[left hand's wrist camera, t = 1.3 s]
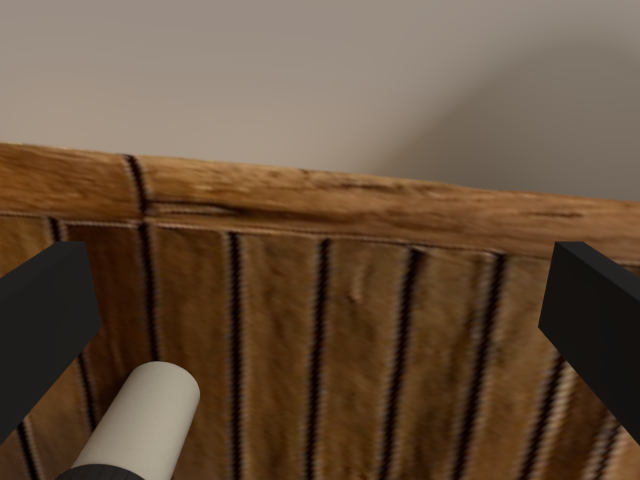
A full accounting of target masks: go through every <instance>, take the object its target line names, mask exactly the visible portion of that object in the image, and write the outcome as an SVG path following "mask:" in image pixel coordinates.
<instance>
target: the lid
mask: <svg viewBox="0 0 640 480" xmlns="http://www.w3.org/2000/svg"><path fill="white" fill-rule="evenodd" d="M55 480H145V479H144V478H142V477H141V476H139V475H137V474H136V473H134V472H132V471H129V470H127V469H124V468H121V467H117V466H113V465H107V464H86V465H80V466H77V467H74V468H71V469H69V470H67V471H65V472H64V473H62V474H60V475H59V476H58V477H57V478H56V479H55Z"/></svg>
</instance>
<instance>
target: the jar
mask: <svg viewBox="0 0 640 480" xmlns="http://www.w3.org/2000/svg"><path fill="white" fill-rule="evenodd" d="M199 401H200V391H199V387H198V384H197V382H196V381H195V379H194V378H193V377H192V376H191V375H190V374H189V373H188V372H187V371H186V370H184V369H183V368H181V367H179V366H177V365H174V364H171V363H167V362H149V363H145V364H143V365H140V366H139V367H137V368H135V369H134V370H133V371H132V372H131V373H130V375H129V376H128V378H127V379H126V381H125V382H124V384H123V386H122V387H121V389H120V390H119V392H118V393H117V395H116V397H115V398H114V400H113V401H112V403H111V405H110V406H109V408H108V409H107V411H106V412H105V414H104V416H103V417H102V419H101V420H100V422H99V424H98V425H97V427H96V428H95V430H94V431H93V433H92V435H91V436H90V438H89V439H88V441H87V443H86V444H85V446H84V447H83V449H82V450H81V452H80V454H79V455H78V457H77V458H76V460H75V462H74V463H73V465H72V466H71V468H74V467H77V466H80V465H86V464H107V465H113V466H117V467H121V468H124V469H127V470H129V471H132V472H134V473H136V474H137V475H139V476H141V477H142V478H144V479H145V480H171V478H172V475H173V472H174V469H175V467H176V464H177V461H178V458H179V456H180V453H181V450H182V448H183V445H184V442H185V439H186V437H187V434H188V431H189V429H190V426H191V423H192V420H193V418H194V415H195V412H196V409H197V407H198V404H199ZM71 468H70V469H71Z"/></svg>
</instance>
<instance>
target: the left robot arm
mask: <svg viewBox="0 0 640 480" xmlns="http://www.w3.org/2000/svg"><path fill="white" fill-rule="evenodd" d="M101 328H102V324H101V319H100V314H99V309H98V305H97V300H96V295H95V290H94V285H93V280H92V275H91V270H90V265H89V260H88V255H87V251H86V246H85V242H56V243H54V244H53V245H51V246H50V247H48V248H46V249H45V250H43V251H42V252H40V253H39V254H37V255H36V256H34V257H32V258H31V259H29V260H28V261H26V262H25V263H23V264H22V265H20V266H18V267H17V268H15V269H14V270H12V271H11V272H9V273H8V274H6V275H4V276H3V277H1V278H0V446H1V444H2V443H3V442H4V441H5V440H6V439H7V437H8V436H9V435H10V434H11V433H12V432H13V430H14V429H15V428H16V427H17V426H18V425H19V423H20V422H21V421H22V420H23V419H24V418H25V416H26V415H27V414H28V413H29V412H30V411H31V409H32V408H33V407H34V406H35V405H36V404H37V402H38V401H39V400H40V399H41V398H42V397H43V395H44V394H45V393H46V392H47V391H48V390H49V388H50V387H51V386H52V385H53V384H54V383H55V381H56V380H57V379H58V378H59V377H60V376H61V374H62V373H63V372H64V371H65V370H66V369H67V367H68V366H69V365H70V364H71V363H72V362H73V360H74V359H75V358H76V357H77V356H78V355H79V353H80V352H81V351H82V350H83V349H84V348H85V346H86V345H87V344H88V343H89V342H90V341H91V339H92V338H93V337H94V336H95V335H96V334H97V332H98V331H99V330H100V329H101ZM538 328H539V329H540V330H541V331H542V332H543V334H544V335H545V336H546V337H547V338H548V339H549V341H550V342H551V343H552V344H553V345H554V346H555V348H556V349H557V350H558V351H559V352H560V353H561V355H562V356H563V357H564V358H565V359H566V360H567V362H568V363H569V364H570V365H571V366H572V367H573V369H574V370H575V371H576V372H577V373H578V374H579V376H580V377H581V378H582V379H583V380H584V381H585V383H586V384H587V385H588V386H589V387H590V388H591V390H592V391H593V392H594V393H595V394H596V395H597V397H598V398H599V399H600V400H601V401H602V402H603V404H604V405H605V406H606V407H607V408H608V409H609V411H610V412H611V413H612V414H613V415H614V416H615V418H616V419H617V420H618V421H619V422H620V423H621V425H622V426H623V427H624V428H625V429H626V430H627V432H628V433H629V434H630V435H631V436H632V437H633V439H634V440H635V441H636V442H637V443H638V444H639V446H640V278H639V277H637V276H636V275H634V274H632V273H631V272H629V271H628V270H626V269H625V268H623V267H622V266H620V265H618V264H617V263H615V262H614V261H612V260H611V259H609V258H608V257H606V256H604V255H603V254H601V253H600V252H598V251H597V250H595V249H594V248H592V247H590V246H589V245H587V244H586V243H584V242H555V246H554V250H553V255H552V260H551V265H550V270H549V275H548V280H547V285H546V290H545V295H544V300H543V305H542V309H541V314H540V319H539V324H538Z"/></svg>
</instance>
